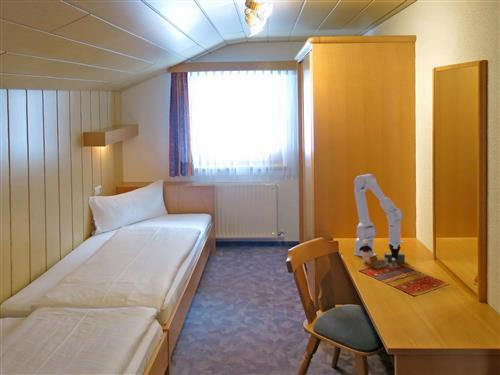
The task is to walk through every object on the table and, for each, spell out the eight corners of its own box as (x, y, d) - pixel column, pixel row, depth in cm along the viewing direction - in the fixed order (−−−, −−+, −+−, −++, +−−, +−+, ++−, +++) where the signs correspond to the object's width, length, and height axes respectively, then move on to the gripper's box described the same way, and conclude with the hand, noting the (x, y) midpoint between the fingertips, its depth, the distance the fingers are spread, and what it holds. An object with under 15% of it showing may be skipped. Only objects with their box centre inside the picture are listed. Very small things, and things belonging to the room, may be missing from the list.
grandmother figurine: (372, 261, 275) (372, 238, 273) (373, 264, 271) (373, 239, 270) (357, 261, 276) (357, 238, 274) (358, 264, 272) (358, 240, 270)
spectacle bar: (384, 262, 273) (384, 254, 272) (384, 260, 276) (384, 253, 275) (404, 262, 271) (404, 255, 270) (404, 261, 273) (404, 253, 273)
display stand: (375, 267, 265) (375, 260, 264) (374, 264, 271) (374, 256, 270) (398, 268, 263) (398, 260, 262) (397, 264, 269) (397, 257, 268)
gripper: (403, 236, 263) (403, 263, 265) (401, 229, 277) (401, 255, 279) (389, 236, 264) (389, 262, 267) (387, 229, 278) (387, 254, 281)
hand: (394, 258), depth 273 cm, fingers closed on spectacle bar, 3 cm apart
